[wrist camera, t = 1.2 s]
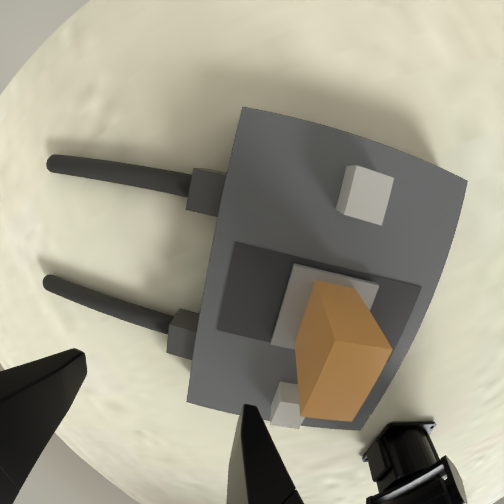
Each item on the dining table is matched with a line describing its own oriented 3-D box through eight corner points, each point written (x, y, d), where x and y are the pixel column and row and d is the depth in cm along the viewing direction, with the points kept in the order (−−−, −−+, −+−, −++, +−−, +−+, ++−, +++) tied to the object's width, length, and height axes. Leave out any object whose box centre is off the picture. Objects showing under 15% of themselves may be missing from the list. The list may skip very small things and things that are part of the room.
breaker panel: (444, 178, 17) (486, 183, 12) (353, 406, 22) (364, 447, 17) (216, 111, 17) (196, 91, 12) (172, 371, 22) (152, 411, 18)
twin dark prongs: (243, 184, 18) (241, 185, 17) (211, 339, 21) (207, 349, 20) (55, 153, 18) (44, 153, 17) (49, 285, 21) (40, 290, 20)
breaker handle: (377, 283, 16) (424, 342, 9) (347, 355, 17) (371, 429, 11) (293, 263, 16) (303, 321, 9) (270, 340, 17) (266, 419, 11)
